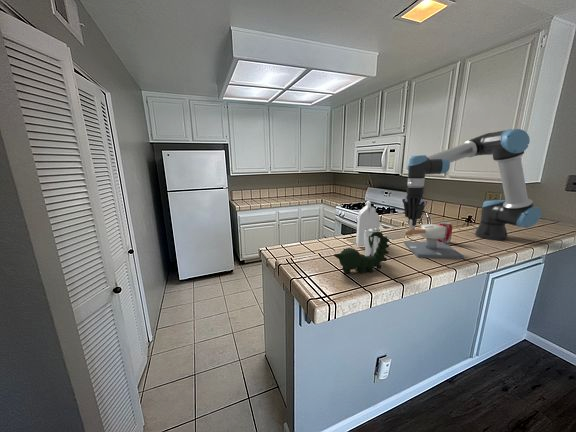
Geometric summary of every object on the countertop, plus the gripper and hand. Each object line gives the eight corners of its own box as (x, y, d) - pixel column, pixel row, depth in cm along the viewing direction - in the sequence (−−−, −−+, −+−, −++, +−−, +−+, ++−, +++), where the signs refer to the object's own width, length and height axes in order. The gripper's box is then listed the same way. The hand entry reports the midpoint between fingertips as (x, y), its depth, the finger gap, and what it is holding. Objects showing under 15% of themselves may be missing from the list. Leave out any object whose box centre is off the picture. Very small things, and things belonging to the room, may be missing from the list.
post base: (442, 244, 131) (443, 231, 130) (463, 258, 111) (465, 243, 109) (403, 243, 135) (404, 230, 133) (417, 257, 114) (418, 242, 113)
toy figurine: (377, 267, 108) (328, 268, 104) (382, 229, 105) (331, 228, 100) (389, 276, 99) (336, 277, 95) (395, 234, 96) (340, 234, 91)
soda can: (453, 243, 132) (455, 224, 129) (441, 244, 132) (443, 224, 129) (445, 240, 138) (447, 221, 136) (433, 240, 139) (435, 221, 136)
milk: (356, 241, 143) (357, 200, 137) (375, 241, 140) (377, 200, 135) (357, 247, 131) (359, 203, 126) (378, 248, 129) (381, 203, 124)
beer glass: (377, 261, 111) (379, 232, 107) (362, 260, 113) (363, 231, 110) (377, 256, 117) (378, 228, 114) (363, 255, 119) (364, 227, 116)
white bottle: (432, 232, 127) (433, 223, 126) (449, 237, 117) (451, 228, 116) (398, 235, 124) (399, 226, 123) (413, 241, 113) (414, 231, 112)
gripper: (399, 186, 120) (396, 229, 125) (421, 188, 108) (417, 235, 113) (409, 185, 122) (406, 227, 127) (432, 187, 111) (427, 233, 116)
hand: (411, 231), depth 120 cm, fingers closed
